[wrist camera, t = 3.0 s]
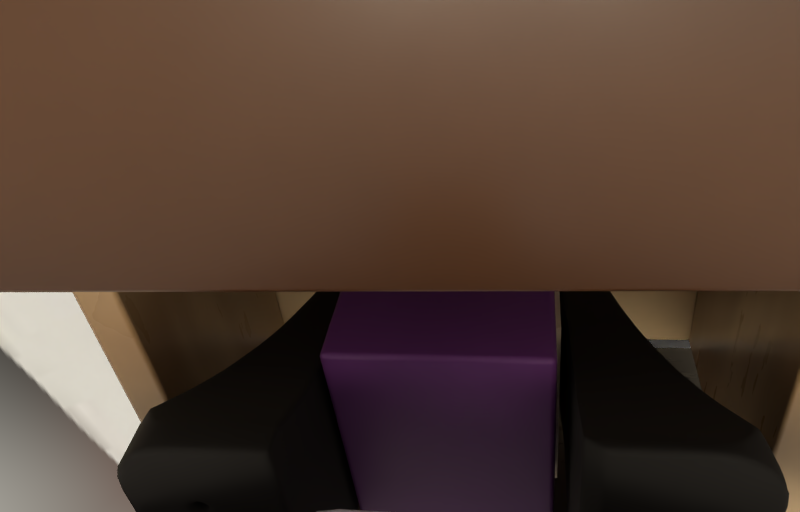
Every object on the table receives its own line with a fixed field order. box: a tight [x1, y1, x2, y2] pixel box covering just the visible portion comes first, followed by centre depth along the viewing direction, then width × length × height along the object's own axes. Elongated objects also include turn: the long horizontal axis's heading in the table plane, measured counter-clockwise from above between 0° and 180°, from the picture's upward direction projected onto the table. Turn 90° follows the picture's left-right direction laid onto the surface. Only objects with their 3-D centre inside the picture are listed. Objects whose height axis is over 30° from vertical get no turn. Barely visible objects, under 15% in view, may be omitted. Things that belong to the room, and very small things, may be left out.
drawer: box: [73, 291, 800, 512], centre depth 16 cm, size 17×13×7 cm
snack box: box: [320, 291, 561, 512], centre depth 14 cm, size 5×4×6 cm
